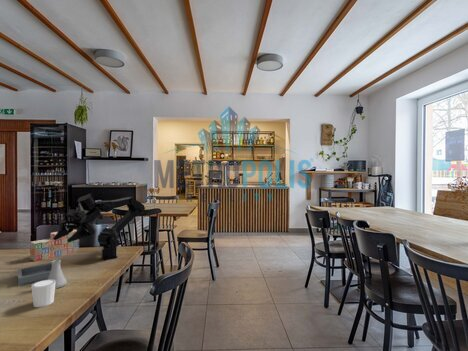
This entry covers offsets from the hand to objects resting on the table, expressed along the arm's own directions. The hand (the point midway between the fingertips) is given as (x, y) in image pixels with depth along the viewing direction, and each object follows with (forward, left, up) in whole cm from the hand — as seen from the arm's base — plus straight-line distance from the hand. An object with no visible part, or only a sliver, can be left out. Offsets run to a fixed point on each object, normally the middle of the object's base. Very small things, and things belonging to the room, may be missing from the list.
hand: (60, 240), depth 114 cm
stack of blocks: (-2, -36, -16) cm, 39 cm away
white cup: (+8, +25, -16) cm, 31 cm away
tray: (+8, -5, -16) cm, 18 cm away
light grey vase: (+3, +11, -16) cm, 19 cm away
